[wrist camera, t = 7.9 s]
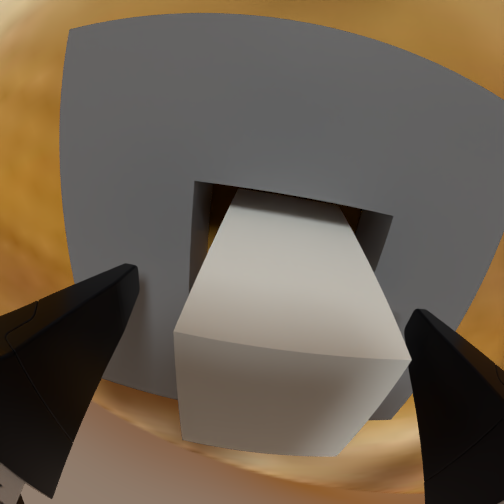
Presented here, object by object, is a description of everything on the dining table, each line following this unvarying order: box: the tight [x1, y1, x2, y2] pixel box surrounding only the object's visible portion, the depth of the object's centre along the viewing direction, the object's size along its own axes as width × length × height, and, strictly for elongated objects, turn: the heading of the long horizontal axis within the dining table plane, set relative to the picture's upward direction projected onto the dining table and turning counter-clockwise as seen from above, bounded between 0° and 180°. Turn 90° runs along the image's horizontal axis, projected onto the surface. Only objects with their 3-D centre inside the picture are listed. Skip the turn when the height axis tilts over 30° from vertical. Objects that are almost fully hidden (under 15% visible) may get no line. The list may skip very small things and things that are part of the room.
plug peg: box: [173, 189, 412, 456], centre depth 9 cm, size 4×4×8 cm
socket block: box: [60, 13, 504, 420], centre depth 11 cm, size 16×16×3 cm
